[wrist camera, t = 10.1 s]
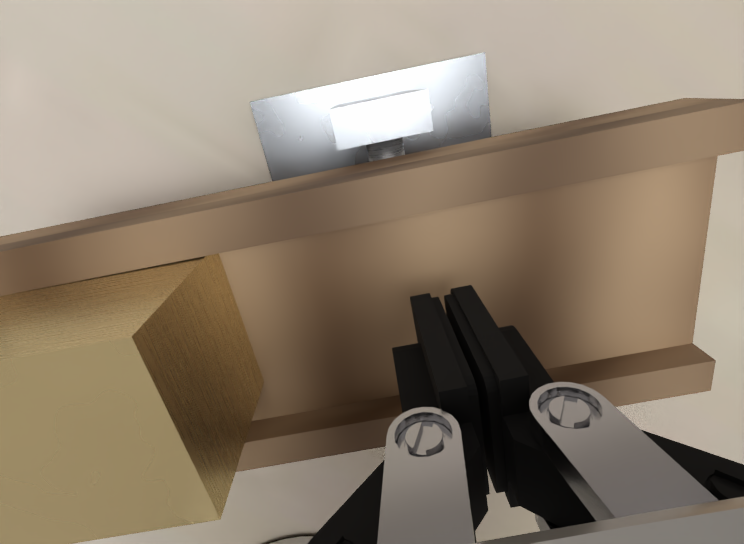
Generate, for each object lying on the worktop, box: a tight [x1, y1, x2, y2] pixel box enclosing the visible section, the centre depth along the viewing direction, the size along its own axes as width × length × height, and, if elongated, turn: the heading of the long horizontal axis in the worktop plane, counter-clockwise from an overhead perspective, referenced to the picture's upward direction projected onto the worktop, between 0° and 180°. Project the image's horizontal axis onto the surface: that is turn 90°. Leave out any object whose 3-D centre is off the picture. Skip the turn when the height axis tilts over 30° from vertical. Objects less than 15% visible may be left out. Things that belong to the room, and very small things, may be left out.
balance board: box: [0, 98, 744, 472], centre depth 13 cm, size 22×9×4 cm, turn 101°
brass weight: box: [0, 253, 264, 544], centre depth 11 cm, size 6×5×5 cm
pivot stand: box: [250, 52, 491, 181], centre depth 18 cm, size 21×14×7 cm
